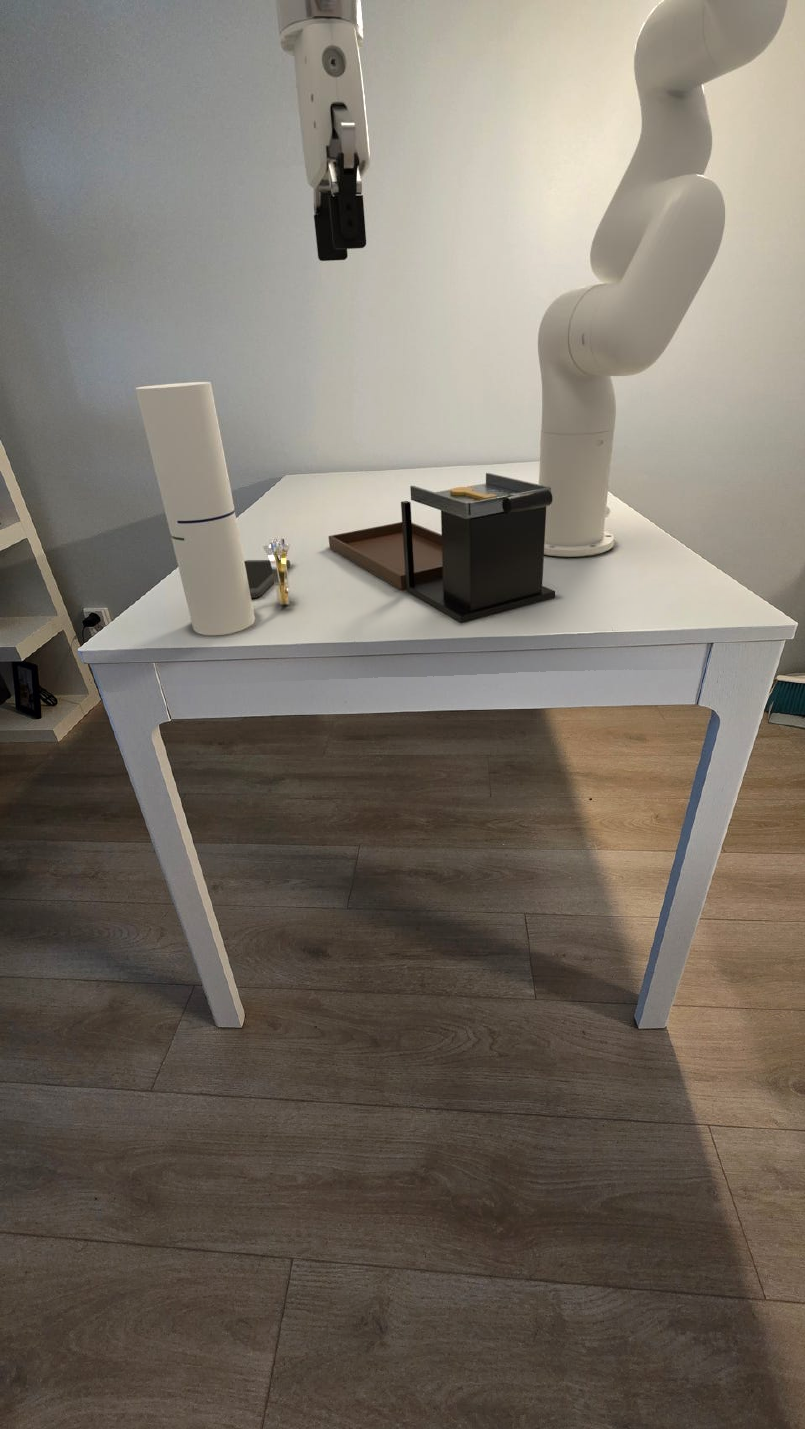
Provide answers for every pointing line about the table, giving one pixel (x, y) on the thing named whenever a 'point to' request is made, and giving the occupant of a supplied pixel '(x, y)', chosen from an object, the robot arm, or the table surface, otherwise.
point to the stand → (483, 563)
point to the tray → (392, 552)
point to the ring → (279, 568)
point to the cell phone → (260, 576)
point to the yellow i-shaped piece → (471, 493)
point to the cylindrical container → (198, 504)
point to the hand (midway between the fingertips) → (341, 254)
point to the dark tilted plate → (509, 499)
